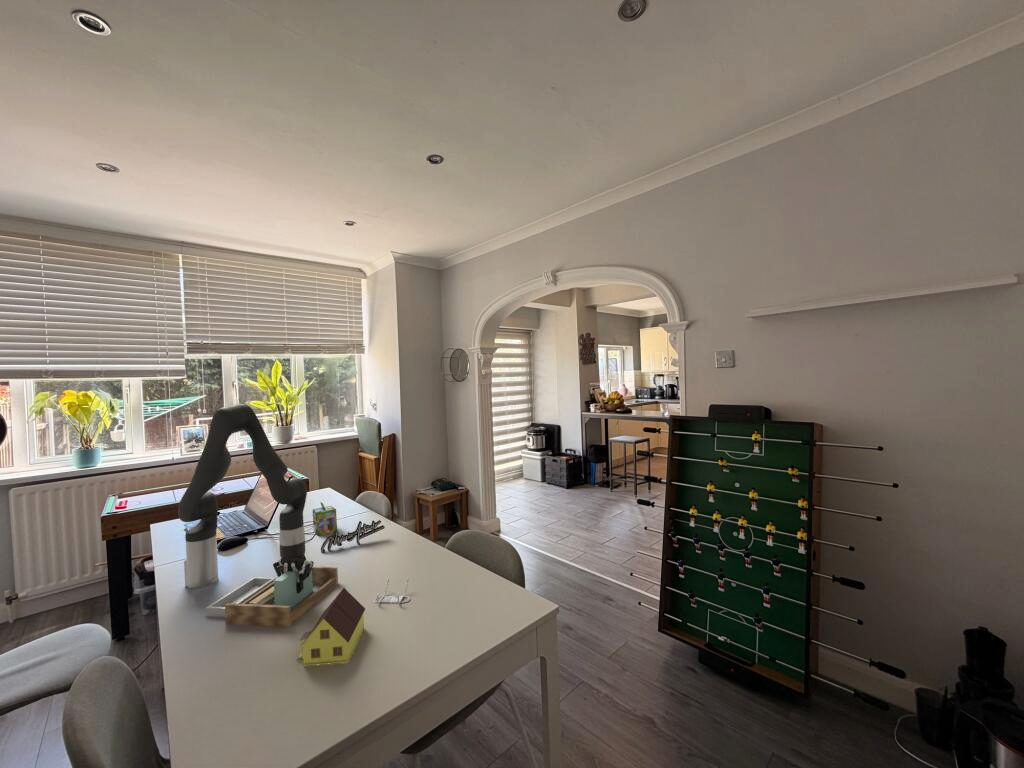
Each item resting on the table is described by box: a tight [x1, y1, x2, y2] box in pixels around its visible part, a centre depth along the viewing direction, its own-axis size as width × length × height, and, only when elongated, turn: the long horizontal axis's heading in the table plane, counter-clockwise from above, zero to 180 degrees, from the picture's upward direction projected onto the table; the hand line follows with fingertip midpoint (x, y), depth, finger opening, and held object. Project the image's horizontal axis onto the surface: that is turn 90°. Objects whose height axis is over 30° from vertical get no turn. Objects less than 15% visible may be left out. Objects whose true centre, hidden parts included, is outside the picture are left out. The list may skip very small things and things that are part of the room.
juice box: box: [312, 501, 338, 537], centre depth 206 cm, size 9×9×15 cm
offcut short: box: [249, 587, 274, 605], centre depth 139 cm, size 2×11×2 cm, turn 169°
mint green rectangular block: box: [274, 559, 314, 610], centre depth 140 cm, size 3×15×11 cm, turn 172°
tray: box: [205, 576, 277, 618], centre depth 143 cm, size 9×21×3 cm, turn 172°
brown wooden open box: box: [225, 566, 339, 628], centre depth 141 cm, size 21×27×6 cm
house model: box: [295, 587, 366, 667], centre depth 116 cm, size 18×20×13 cm
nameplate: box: [320, 519, 385, 553], centre depth 188 cm, size 28×2×10 cm, turn 122°
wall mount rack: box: [373, 577, 411, 605], centre depth 141 cm, size 12×10×4 cm
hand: (294, 591), depth 140 cm, fingers closed on mint green rectangular block, 3 cm apart
